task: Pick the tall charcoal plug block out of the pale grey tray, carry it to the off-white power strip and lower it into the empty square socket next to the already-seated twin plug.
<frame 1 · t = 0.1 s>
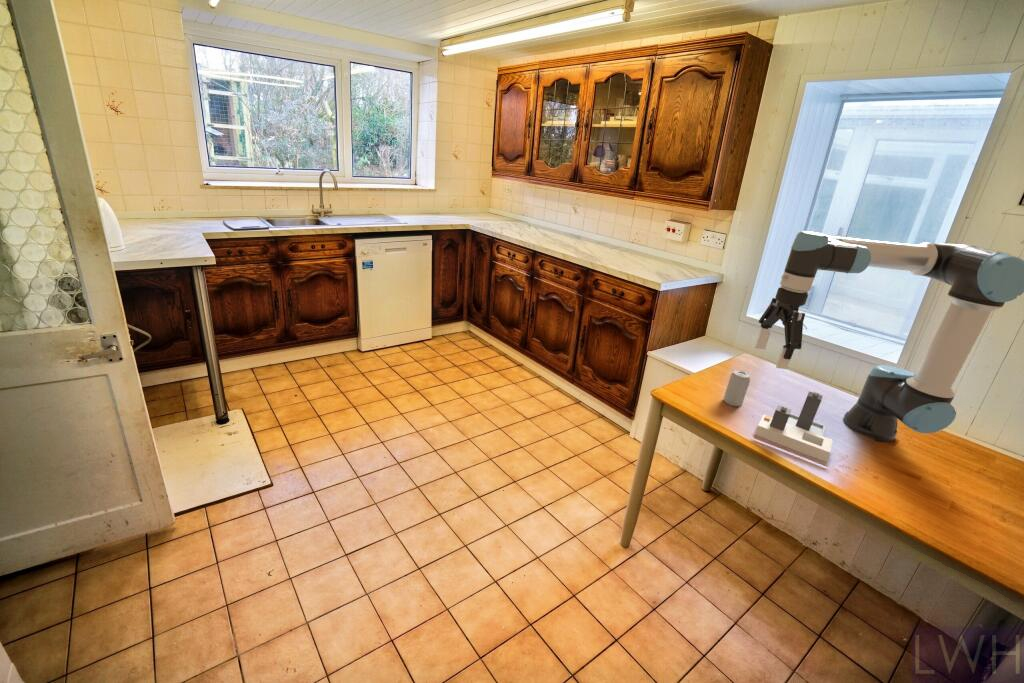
hand: (770, 357, 140), 28 cm above the table, fingers open, 13 cm apart
tray: (802, 428, 160), on the table
plug: (802, 426, 160), point 1 cm above the table, touching tray
strip: (790, 443, 151), on the table
beverage can: (732, 403, 172), on the table
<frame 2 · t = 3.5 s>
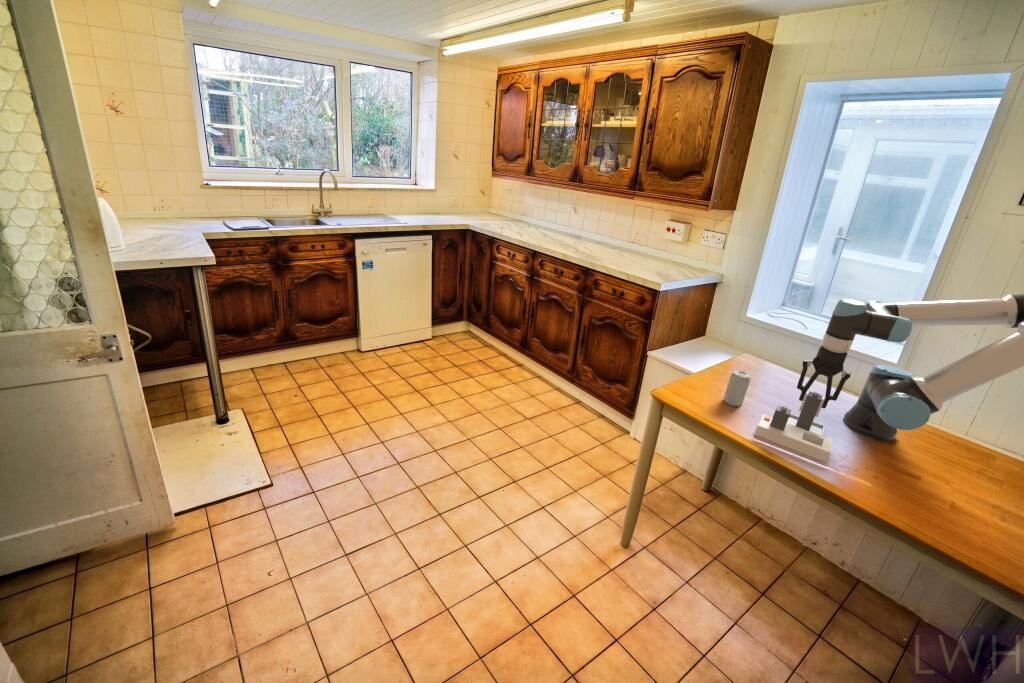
hand: (808, 412, 157), 6 cm above the table, fingers closed on plug, 4 cm apart
plug: (802, 426, 160), point 1 cm above the table, touching gripper, tray
everything else where it was.
when the fingers open (7 cm above the table, at t = 7.7 s): plug stays where it is, resting on strip.
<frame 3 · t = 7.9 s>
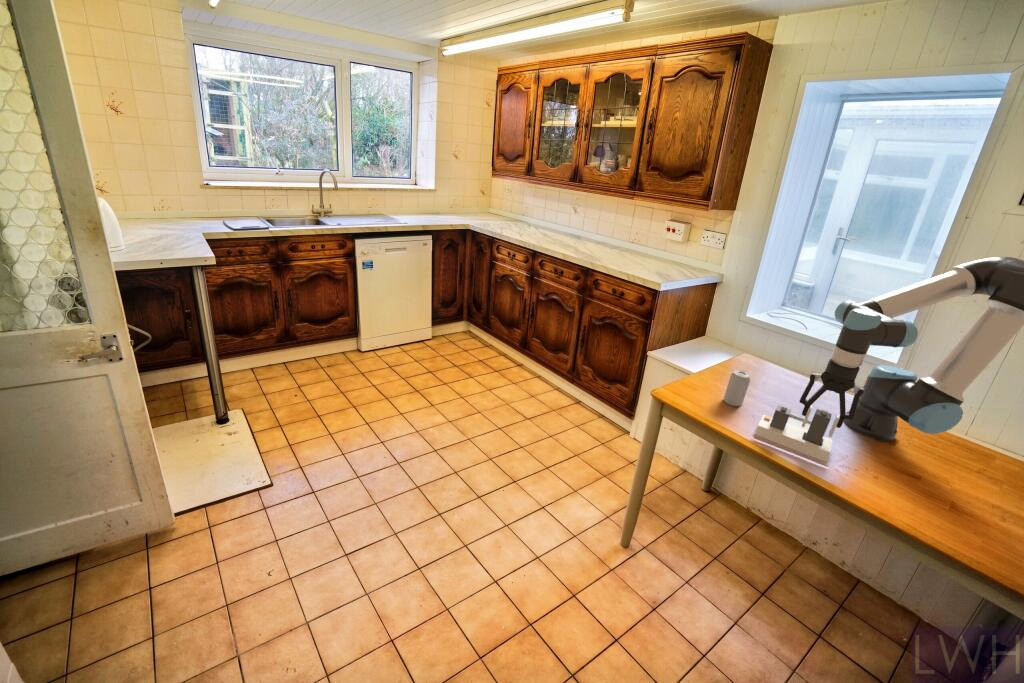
hand: (816, 429, 145), 7 cm above the table, fingers open, 7 cm apart
plug: (809, 446, 147), point 1 cm above the table, touching strip
everything else where it was.
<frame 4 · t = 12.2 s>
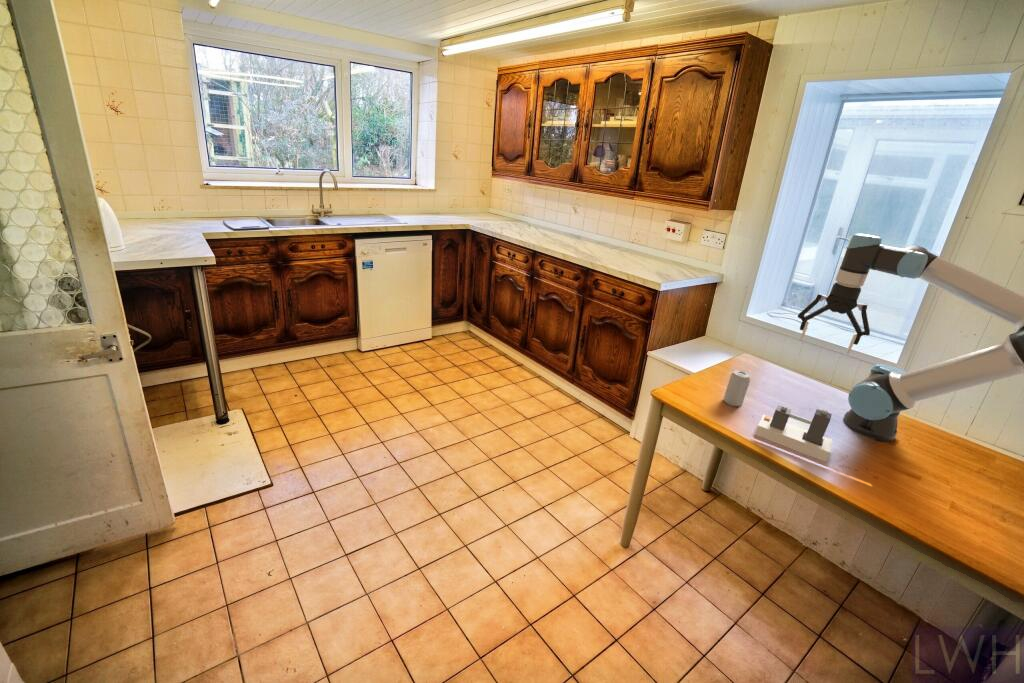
hand: (824, 346, 158), 27 cm above the table, fingers open, 13 cm apart
nothing on the table moved.
at the end: plug 0.0 cm from the target spot on the strip, point 1.1 cm above the strip's base; plug tilted 0°; the gripper is holding nothing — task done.
